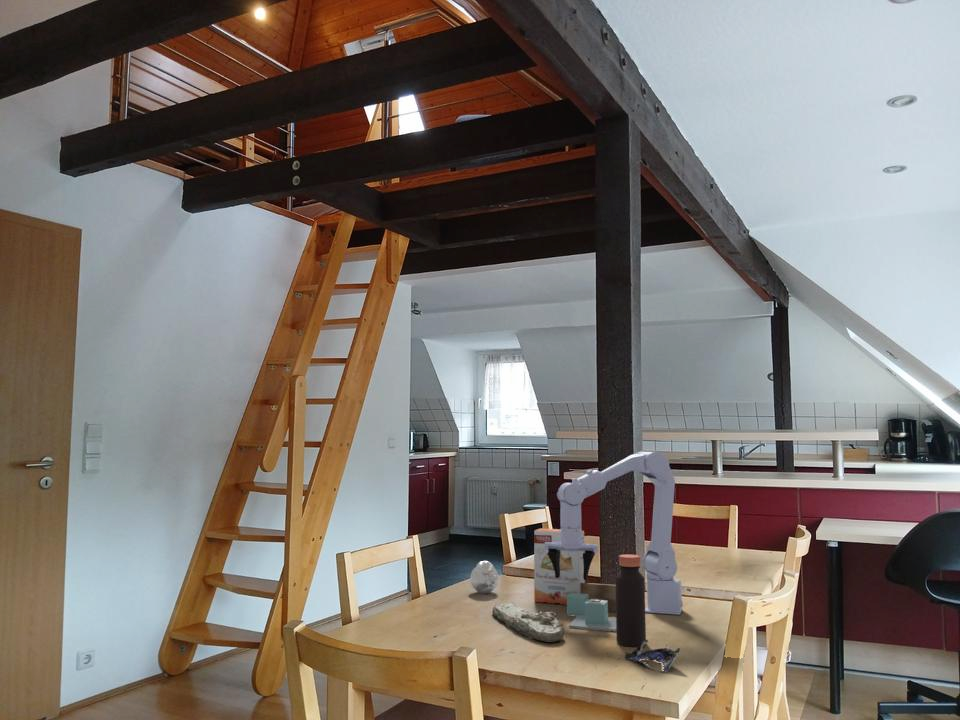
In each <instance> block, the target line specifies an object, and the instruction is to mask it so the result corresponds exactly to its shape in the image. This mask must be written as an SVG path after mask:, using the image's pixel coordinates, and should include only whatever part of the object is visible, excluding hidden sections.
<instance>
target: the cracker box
mask: <svg viewBox="0 0 960 720" xmlns="http://www.w3.org/2000/svg"><path fill="white" fill-rule="evenodd" d="M533 537H534V538H533V539H534V540H533V541H534V542H533V543H534V545H533V547H534V549H533V550H534V551H533V553H534V556H533V557H534V560H533V562H534V563H533V564H534V565H533V567H534V569H533V573H534V577H533V580H534V581H533V582H534V583H533V586H534V588H533V589H534V591H533V592H534V595H533V598H534V603H536V602H537V603H543V602H550V603H549V604H554V603H560V604H559V605H564V604H566V605H565V606H567V596H568V595H569V594H570V593H578V594H580V583H586V580H584V578H583V573H584V564H583V553H585V552H582V551H562V550H560V577H559V578H556V576H555V571H554V567H553V564H552V562H551V560H550V558H549V556H548V551H549V550H545V543H546V542H561V528H559V529H558V528H537V529H535V530H534V536H533ZM582 543H585V531H584V530H582ZM566 549H578V548H566Z"/></svg>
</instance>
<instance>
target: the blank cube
mask: <svg viewBox="0 0 960 720" xmlns="http://www.w3.org/2000/svg"><path fill="white" fill-rule="evenodd" d="M588 599H589V594H578V593H570V594H569V595H568V596H567V605H566V616H571V615H574V617H575V616H576V617H577V616H578V615H585V602H586V601H587V600H588Z"/></svg>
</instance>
